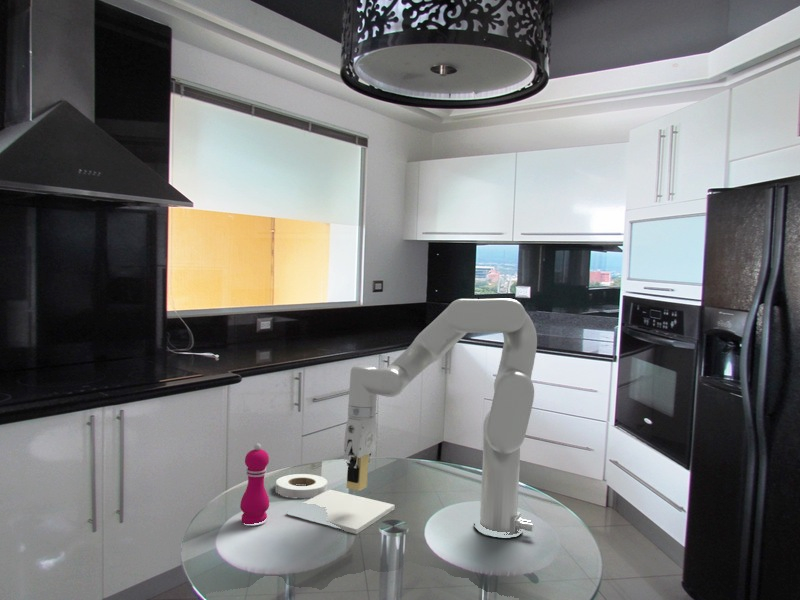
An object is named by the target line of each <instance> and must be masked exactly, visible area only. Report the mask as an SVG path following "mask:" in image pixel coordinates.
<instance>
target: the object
mask: <svg viewBox="0 0 800 600" xmlns="http://www.w3.org/2000/svg"><path fill="white" fill-rule="evenodd" d="M296 484H306V485H308V486H306V485H298V486H296ZM326 491H328V480H327V479H326V478H325V477H322V476H321V475H317V474H309V473H296V474H295V473H293V474H287V475H284V476H281V477H279V478H278V479H276V481H275V493H276V494H277V493H278V494H277V495H279V494H280V495H279V496H281V495H283V496H282V497H284V496H288V497H297V498H304V499H311V498H312V497H315V496H317V495H319V494H321V493H324V492H326ZM288 497H287V498H288ZM297 498H296V499H297Z"/></svg>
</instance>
